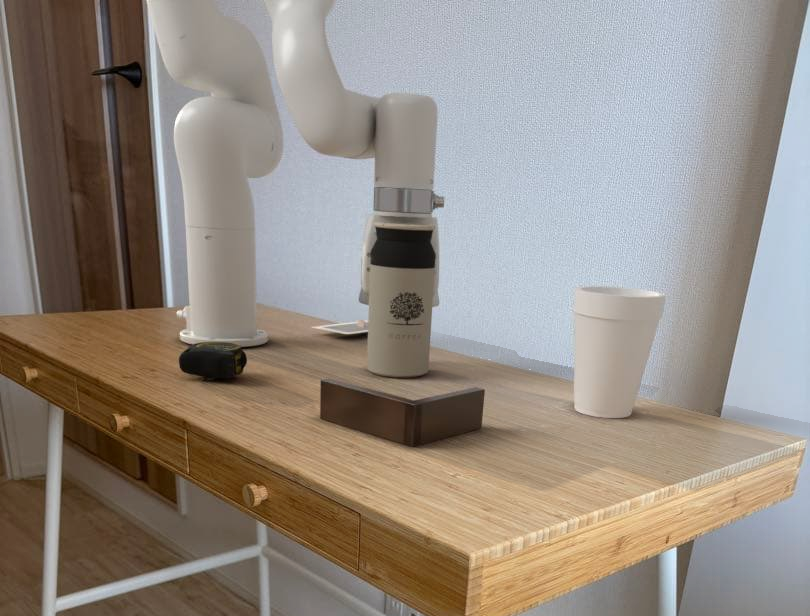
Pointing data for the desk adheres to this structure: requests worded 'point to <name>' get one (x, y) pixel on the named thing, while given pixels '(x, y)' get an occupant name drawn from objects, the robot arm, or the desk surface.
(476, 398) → the corner guard
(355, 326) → the touchpad
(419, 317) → the travel mug
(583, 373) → the foam cup
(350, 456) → the desk surface
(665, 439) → the desk surface
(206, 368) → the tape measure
